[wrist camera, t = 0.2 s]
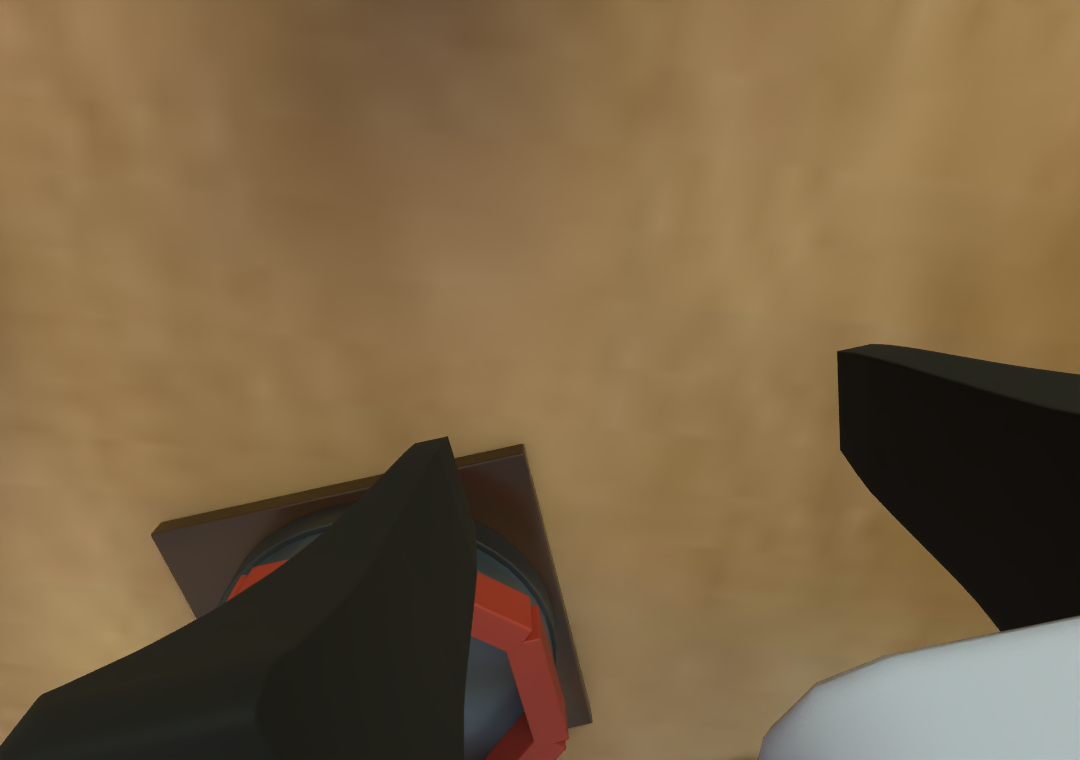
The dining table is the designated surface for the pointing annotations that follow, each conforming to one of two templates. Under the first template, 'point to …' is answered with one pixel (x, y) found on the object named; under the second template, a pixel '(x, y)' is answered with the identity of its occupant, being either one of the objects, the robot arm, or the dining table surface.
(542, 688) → the brick ring
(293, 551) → the stand
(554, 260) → the dining table surface
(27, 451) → the dining table surface
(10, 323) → the dining table surface
